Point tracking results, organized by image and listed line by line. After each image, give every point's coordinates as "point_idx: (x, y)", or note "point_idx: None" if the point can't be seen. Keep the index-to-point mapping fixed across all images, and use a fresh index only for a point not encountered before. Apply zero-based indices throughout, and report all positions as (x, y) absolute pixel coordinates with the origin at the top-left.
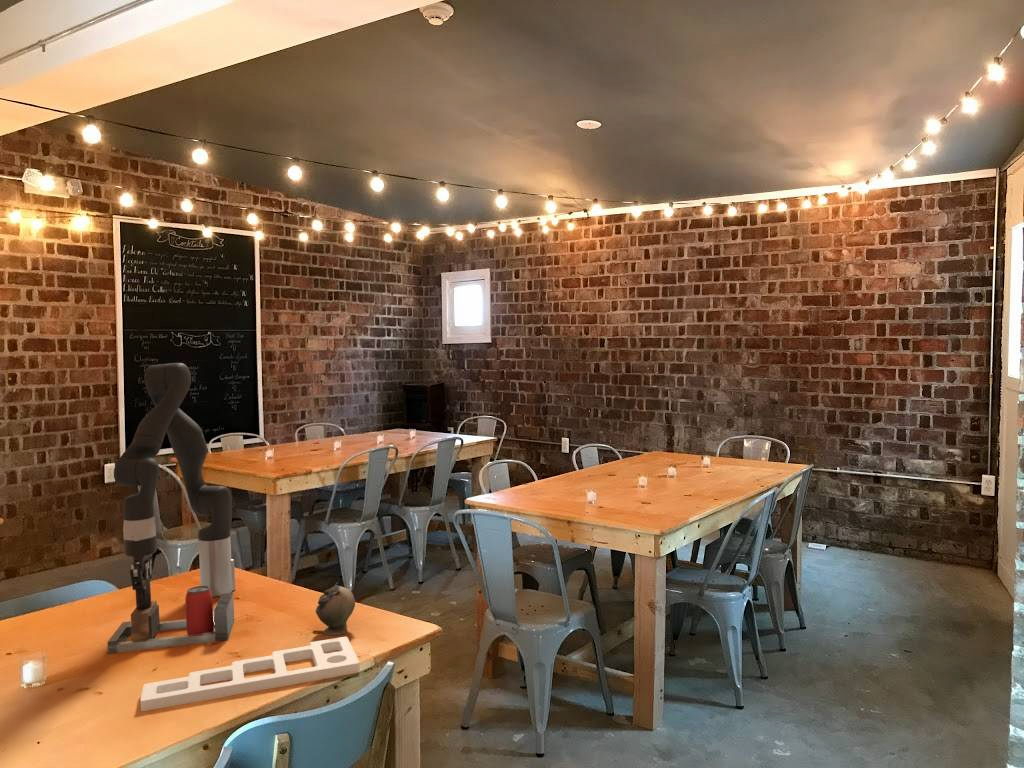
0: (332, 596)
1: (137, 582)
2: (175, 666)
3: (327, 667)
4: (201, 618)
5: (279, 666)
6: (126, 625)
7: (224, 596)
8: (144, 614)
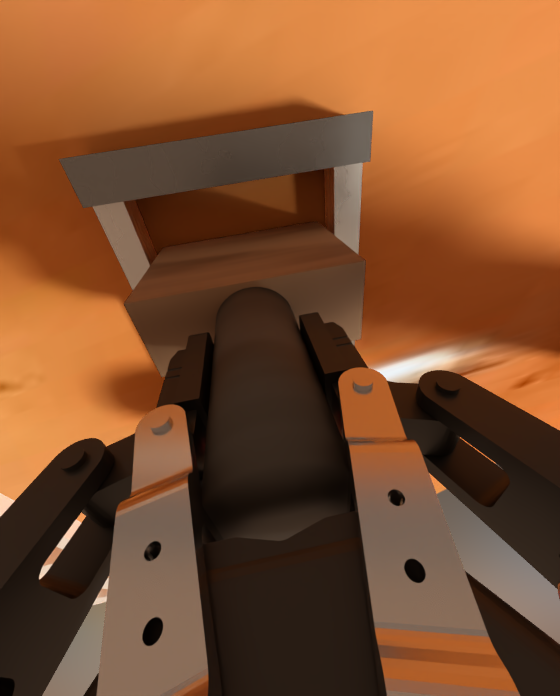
0: None
1: (194, 468)
2: (40, 421)
3: None
4: None
5: (46, 568)
6: (308, 163)
7: None
8: (156, 360)
